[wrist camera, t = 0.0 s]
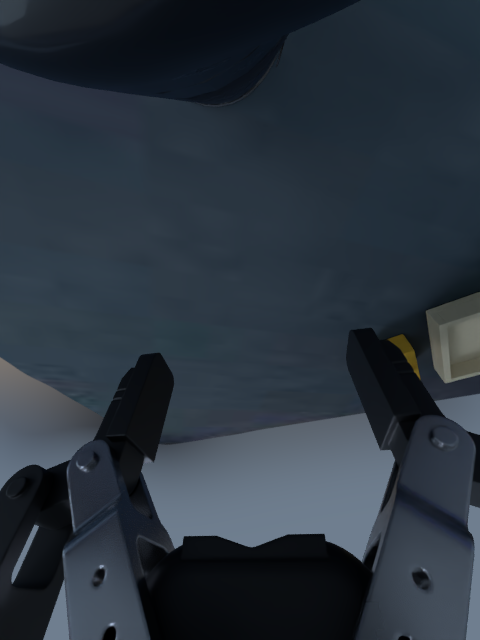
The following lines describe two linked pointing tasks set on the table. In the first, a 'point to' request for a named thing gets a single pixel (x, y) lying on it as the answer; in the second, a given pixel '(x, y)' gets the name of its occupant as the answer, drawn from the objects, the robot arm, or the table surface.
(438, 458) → the robot arm
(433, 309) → the tray
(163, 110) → the table surface
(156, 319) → the table surface
